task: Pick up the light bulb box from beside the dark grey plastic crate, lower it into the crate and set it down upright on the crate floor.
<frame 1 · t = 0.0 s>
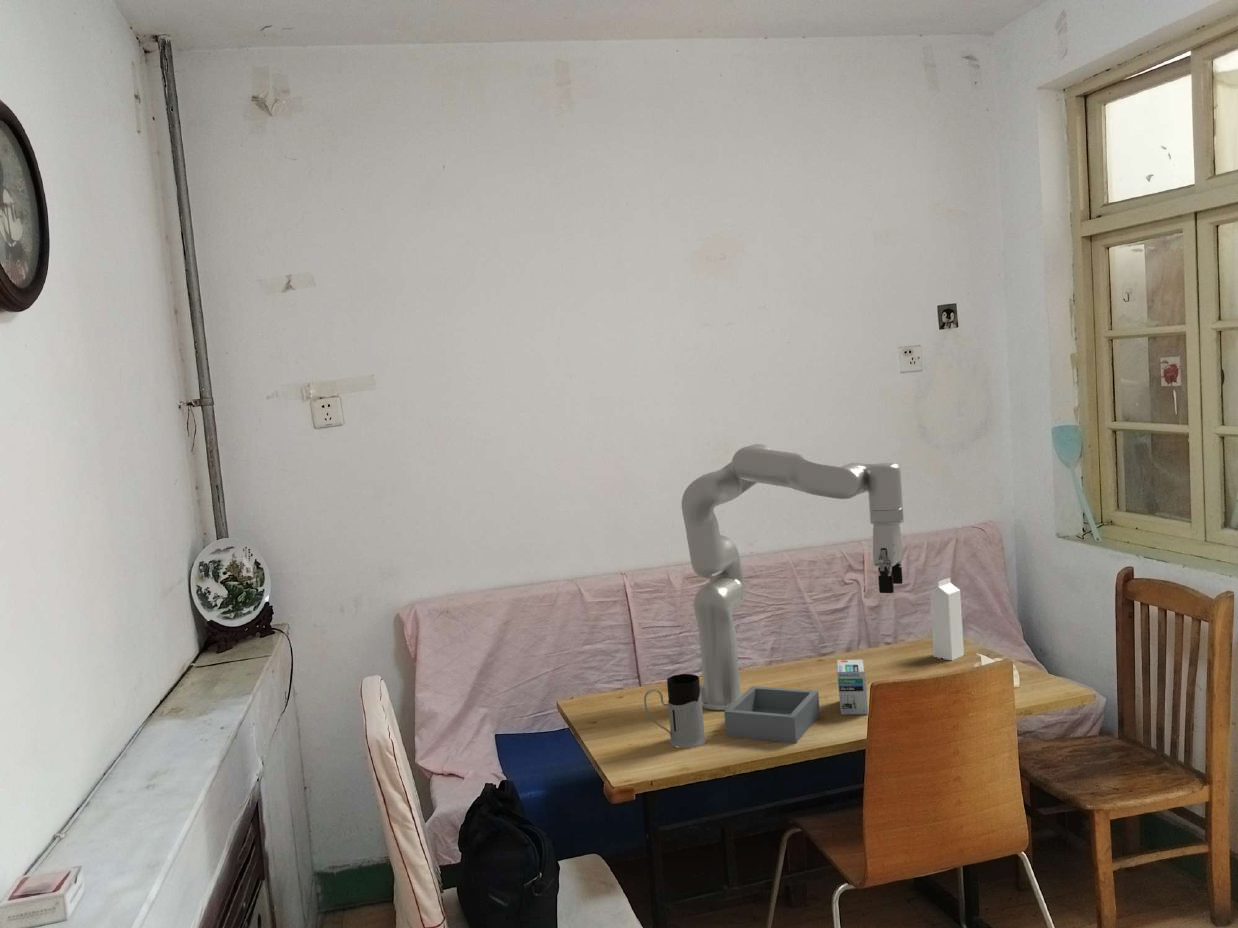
hand: (891, 588, 232), 31 cm above the table, tool pointing down, fingers open, 9 cm apart
glass holder: (677, 744, 230), on the table
light bulb box: (853, 708, 244), on the table
crate: (773, 725, 237), on the table
milk: (948, 657, 278), on the table
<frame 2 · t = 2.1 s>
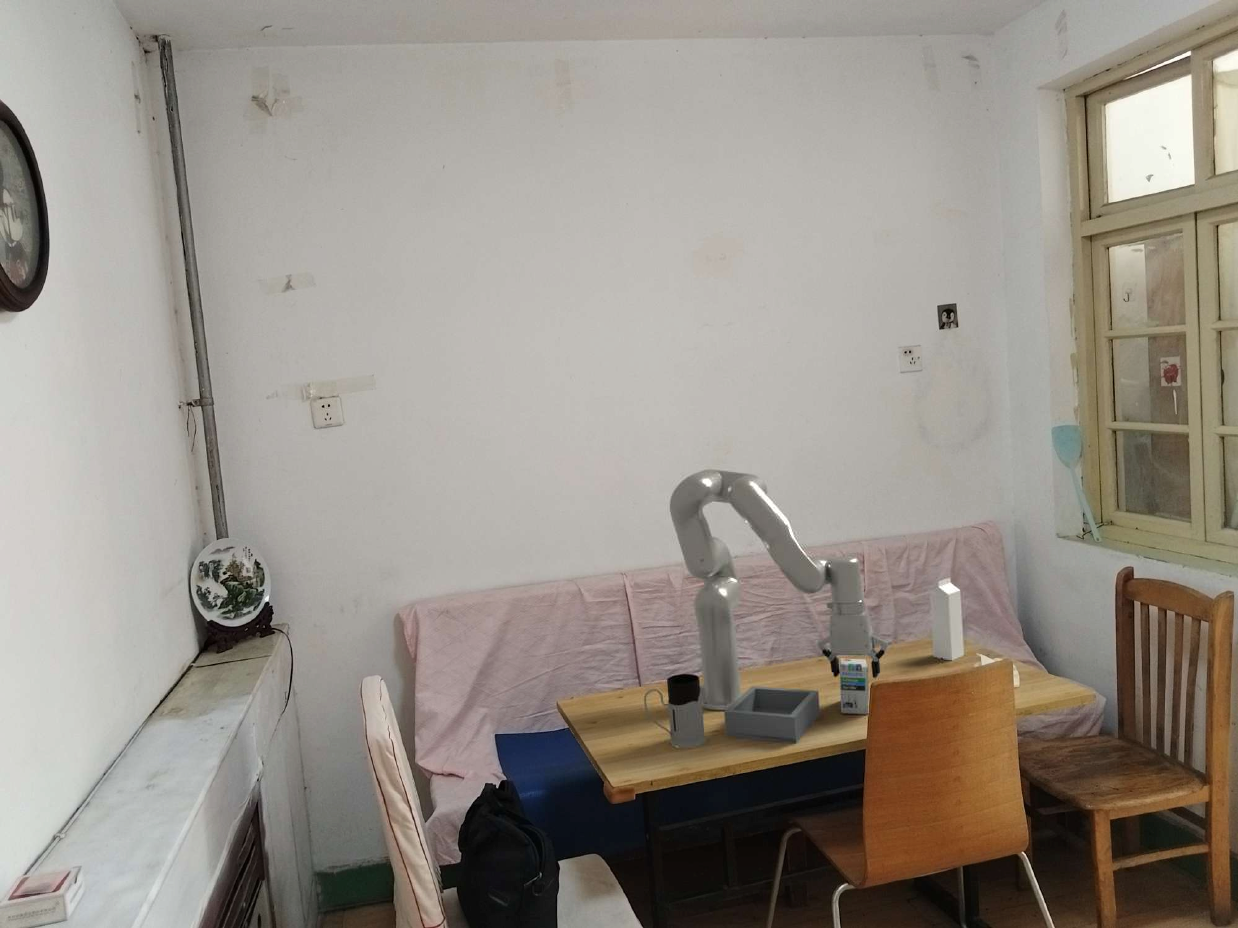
hand: (856, 675, 243), 8 cm above the table, tool pointing down, fingers open, 9 cm apart
nothing on the table moved.
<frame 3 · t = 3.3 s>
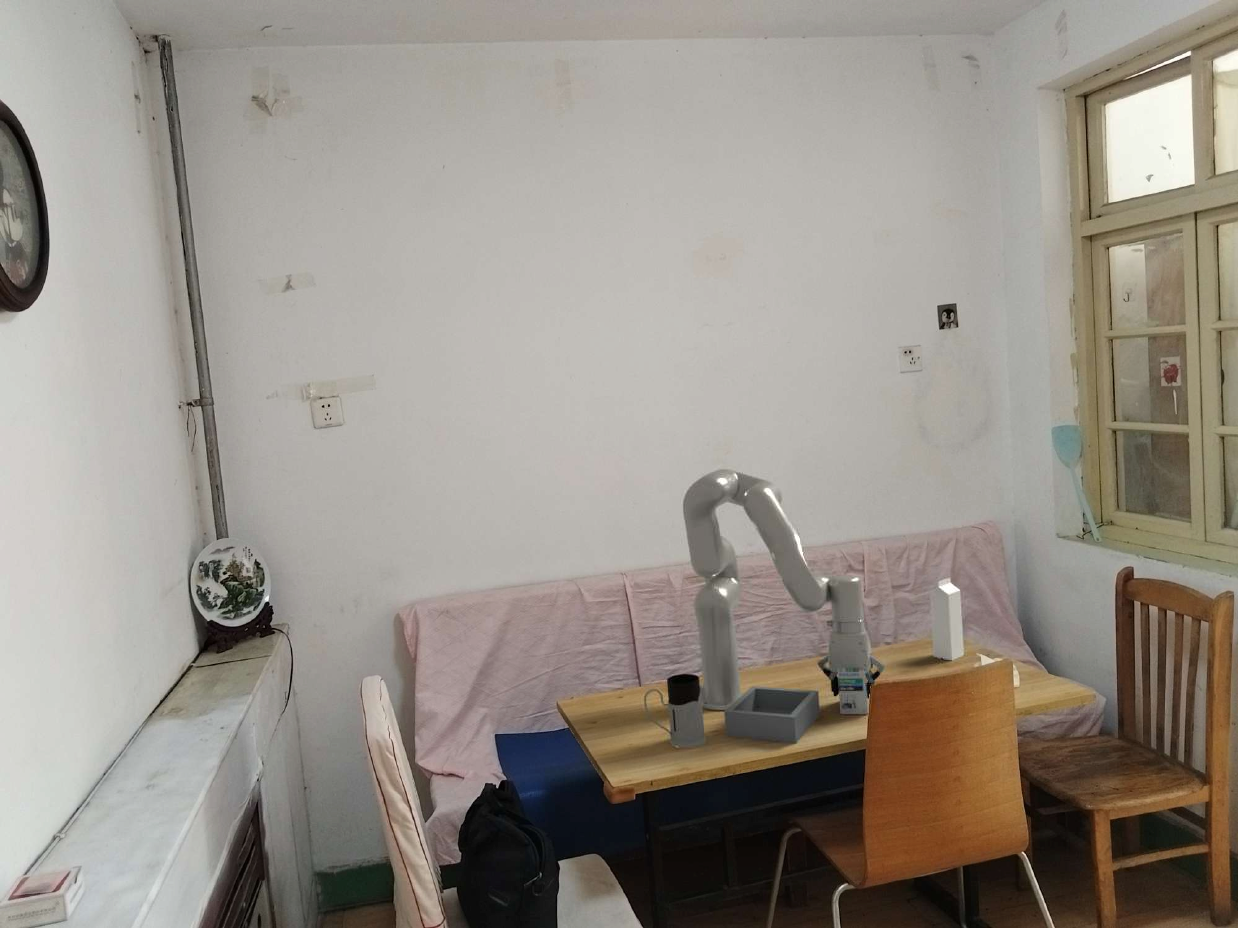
hand: (853, 695, 244), 3 cm above the table, tool pointing down, fingers closed on light bulb box, 7 cm apart
light bulb box: (854, 708, 244), on the table, touching gripper
everything else where it was.
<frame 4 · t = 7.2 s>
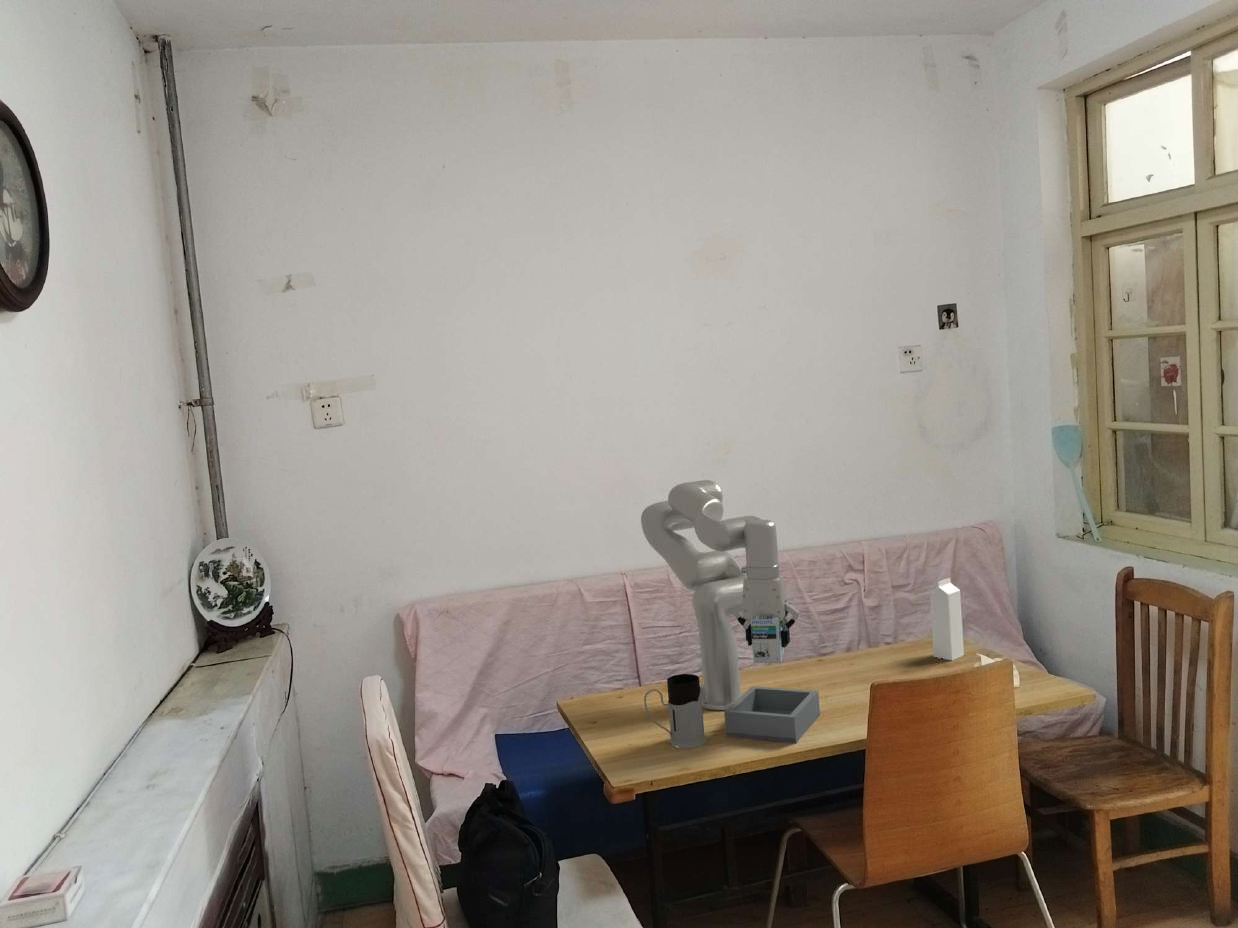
hand: (768, 644, 235), 20 cm above the table, tool pointing down, fingers closed on light bulb box, 7 cm apart
light bulb box: (768, 657, 235), point 16 cm above the table, touching gripper
everything else where it was.
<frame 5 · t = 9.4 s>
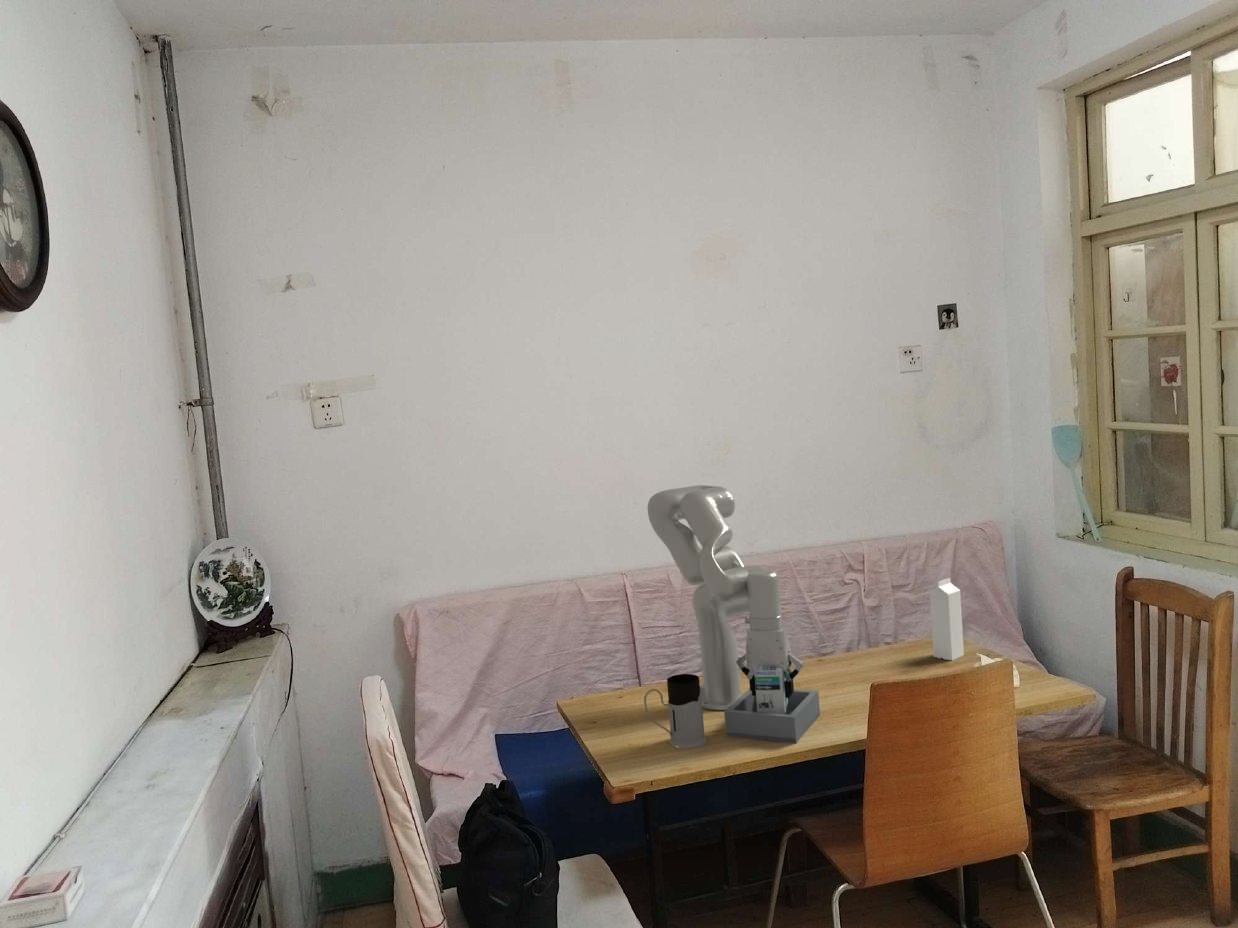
hand: (772, 694, 236), 8 cm above the table, tool pointing down, fingers closed on light bulb box, 7 cm apart
light bulb box: (772, 708, 236), point 4 cm above the table, touching gripper
everything else where it was.
when the fingers open (5 cm above the table, at t = 11.0 s): light bulb box drops 1 cm, resting on crate.
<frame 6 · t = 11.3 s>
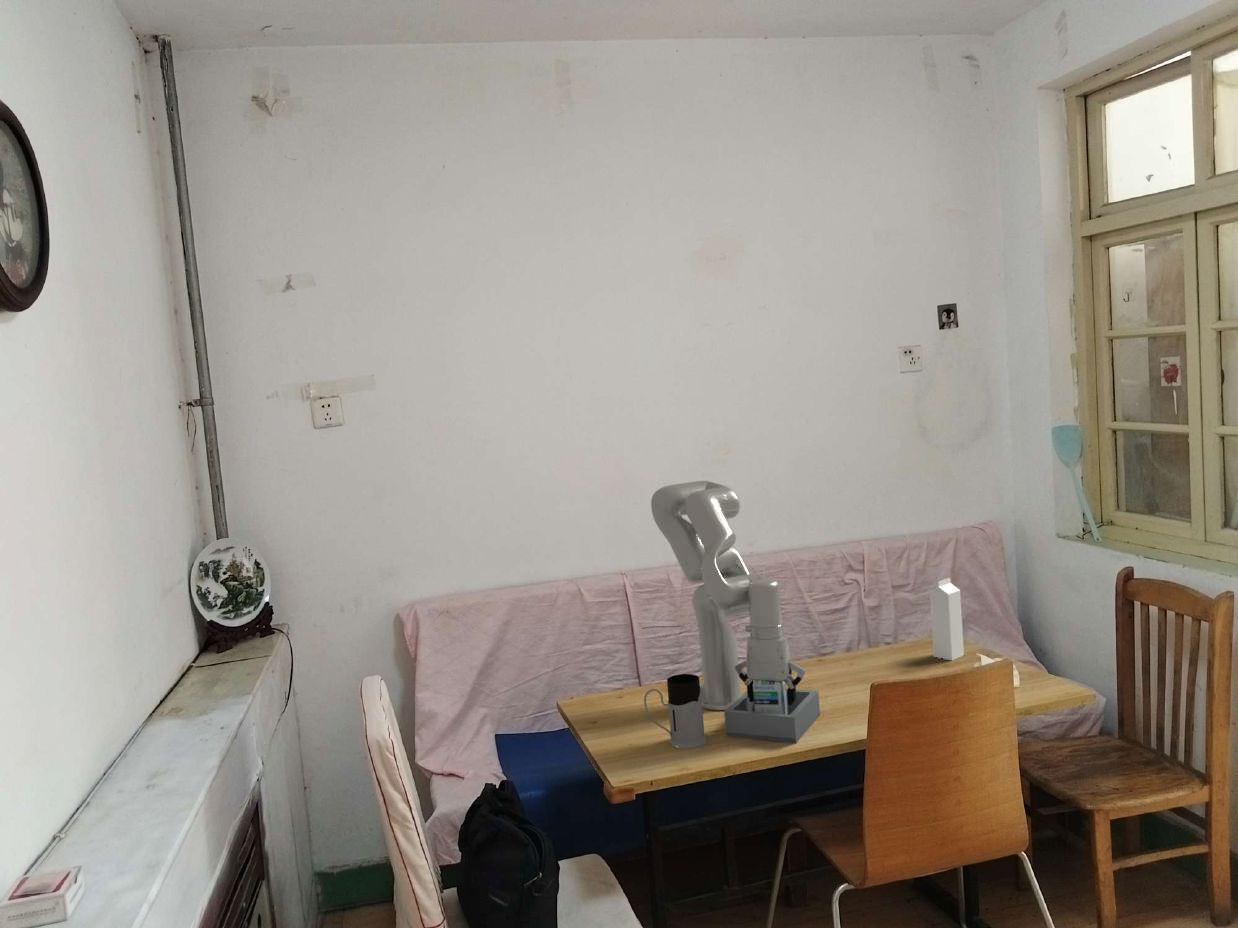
hand: (772, 701, 236), 6 cm above the table, tool pointing down, fingers open, 9 cm apart
light bulb box: (772, 721, 237), point 1 cm above the table, touching crate
everything else where it was.
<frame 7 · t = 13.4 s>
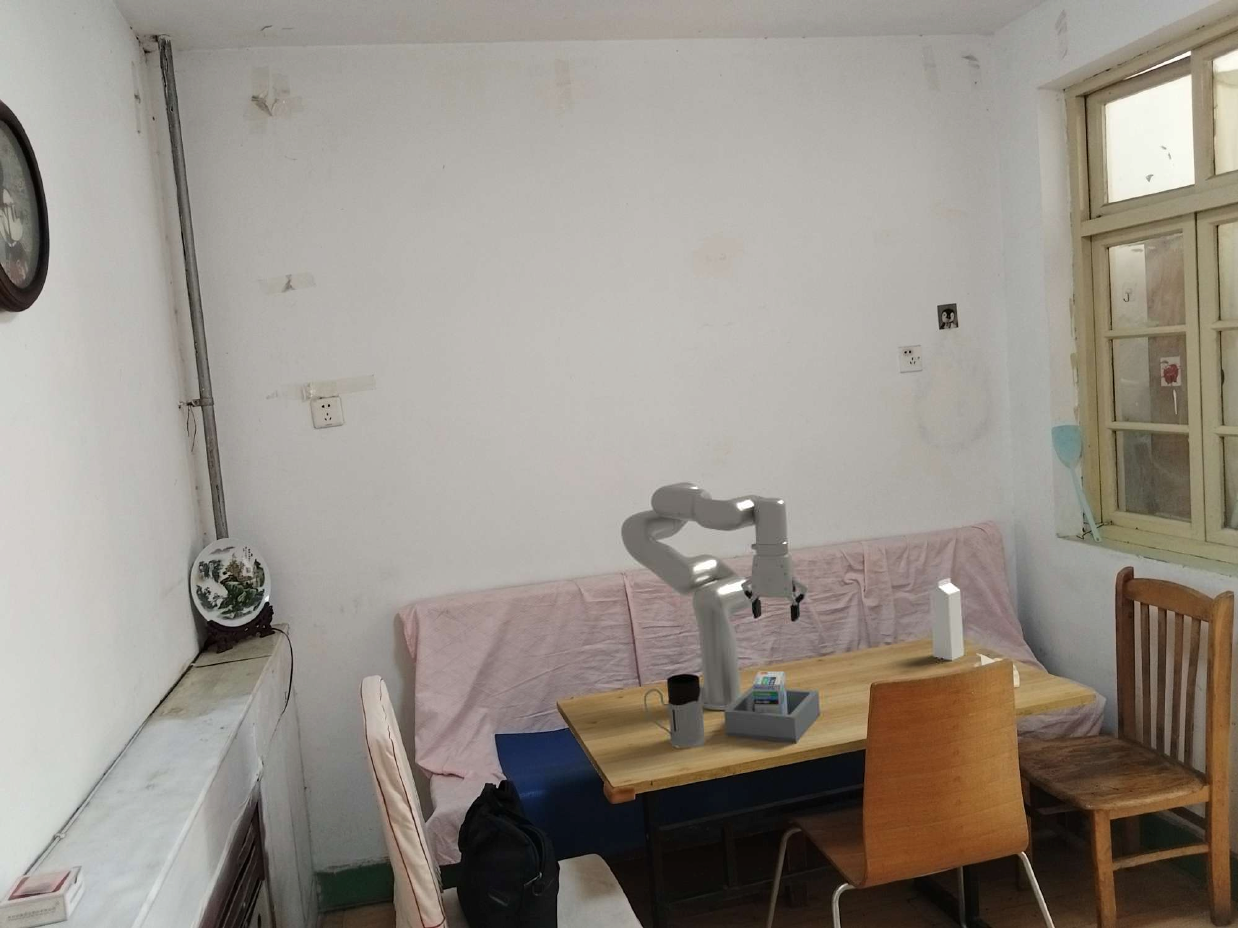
hand: (776, 618, 240), 24 cm above the table, tool pointing down, fingers open, 9 cm apart
nothing on the table moved.
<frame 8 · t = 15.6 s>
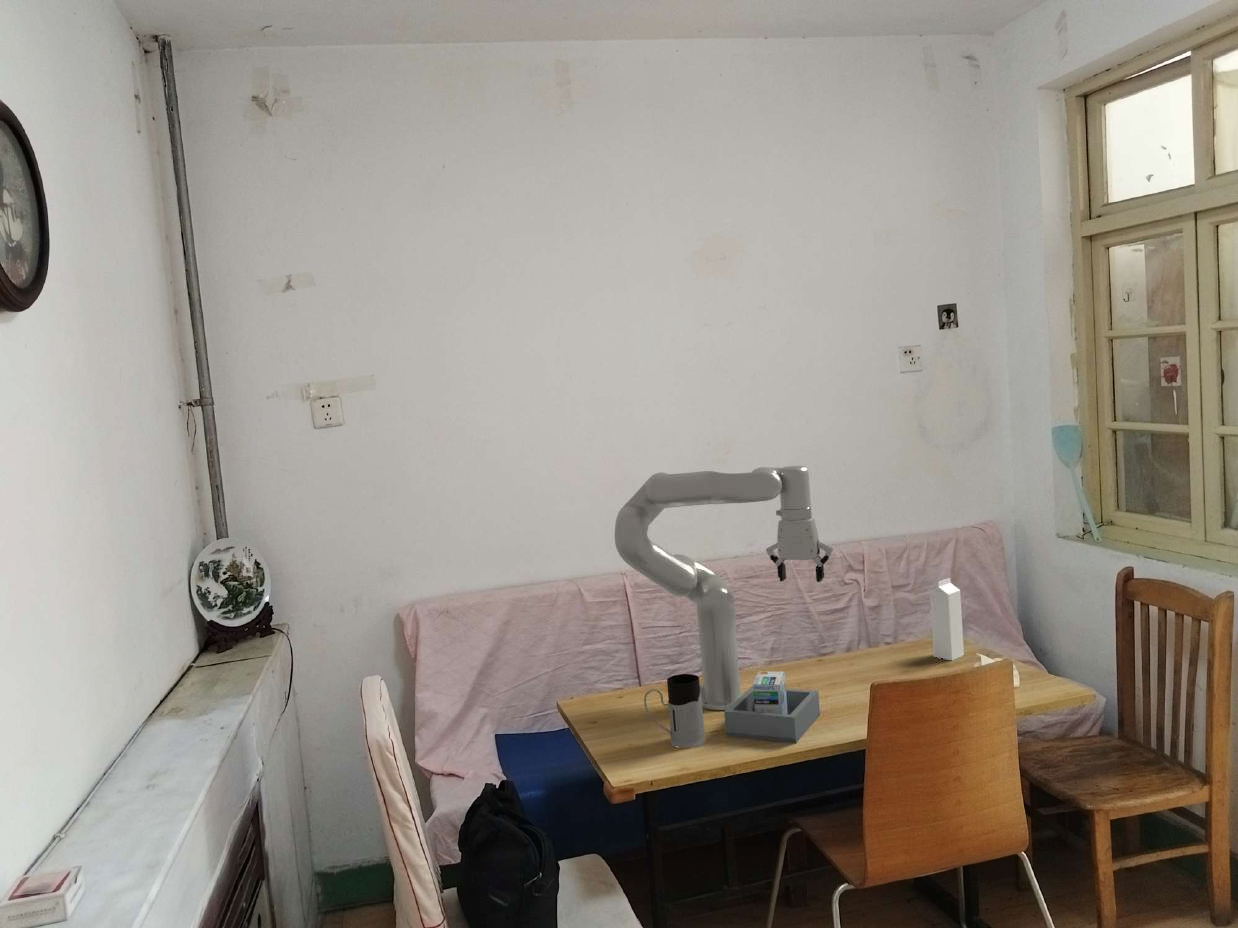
hand: (801, 580, 253), 30 cm above the table, tool pointing down, fingers open, 9 cm apart
nothing on the table moved.
at the end: light bulb box inside the target area on the crate (0.4 cm from its centre), point 0.8 cm above the crate's base; light bulb box tilted 0°; the gripper is holding nothing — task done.
